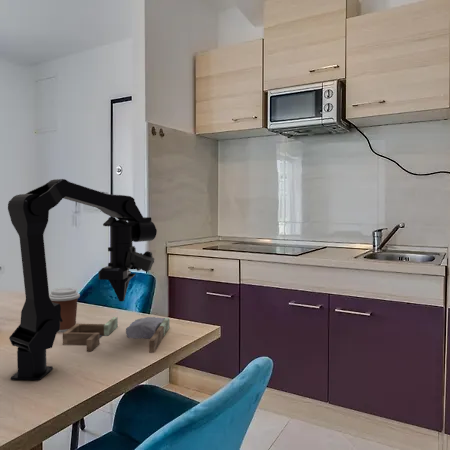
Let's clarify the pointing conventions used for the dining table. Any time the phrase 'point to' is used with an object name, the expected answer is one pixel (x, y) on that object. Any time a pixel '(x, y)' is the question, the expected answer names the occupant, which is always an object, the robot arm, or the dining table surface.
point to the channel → (106, 334)
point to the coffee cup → (66, 306)
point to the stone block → (144, 327)
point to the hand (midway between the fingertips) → (121, 301)
